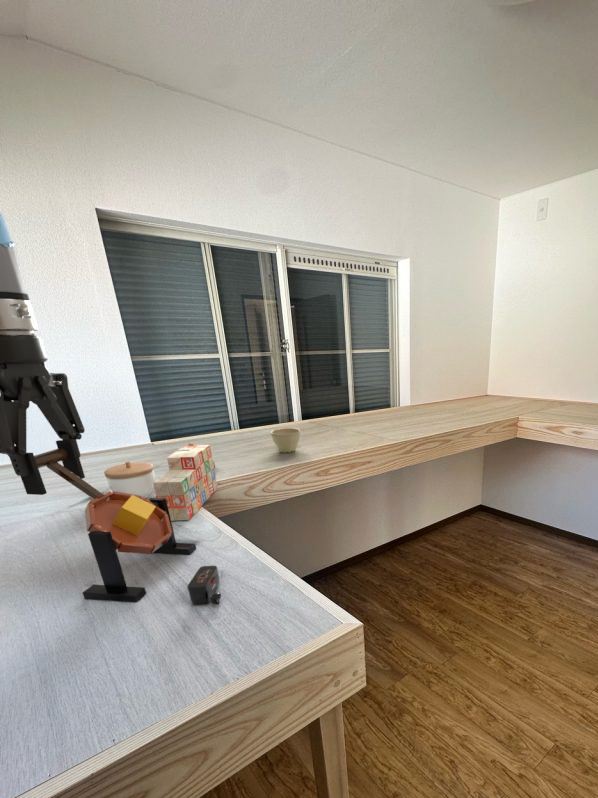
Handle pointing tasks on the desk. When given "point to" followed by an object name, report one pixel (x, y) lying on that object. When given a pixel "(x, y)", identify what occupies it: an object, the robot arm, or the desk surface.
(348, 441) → the desk surface
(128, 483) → the trinket box
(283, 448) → the flower pot
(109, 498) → the tipping bowl
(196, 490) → the stack of blocks
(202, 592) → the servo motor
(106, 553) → the bowl stand
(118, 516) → the block
